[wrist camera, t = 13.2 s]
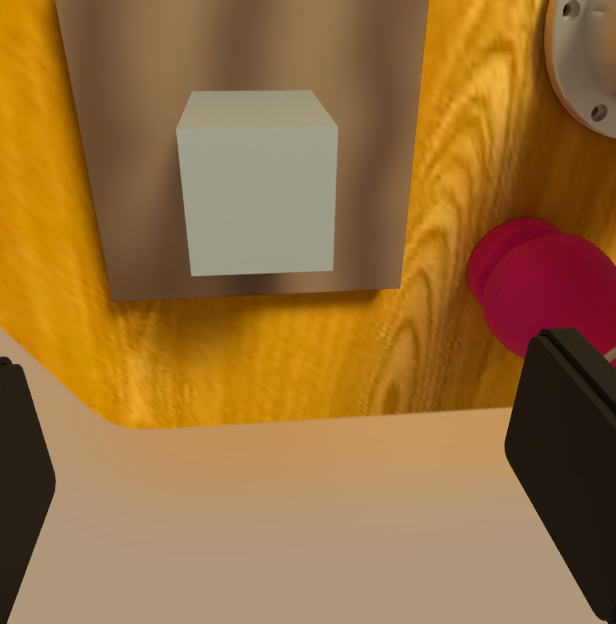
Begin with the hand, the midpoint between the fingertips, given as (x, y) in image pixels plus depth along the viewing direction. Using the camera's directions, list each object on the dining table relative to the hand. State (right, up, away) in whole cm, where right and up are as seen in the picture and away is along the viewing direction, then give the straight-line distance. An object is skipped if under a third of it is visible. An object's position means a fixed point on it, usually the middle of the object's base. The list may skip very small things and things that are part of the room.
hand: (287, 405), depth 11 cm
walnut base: (-3, +11, +19) cm, 22 cm away
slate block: (-2, +10, +17) cm, 20 cm away
